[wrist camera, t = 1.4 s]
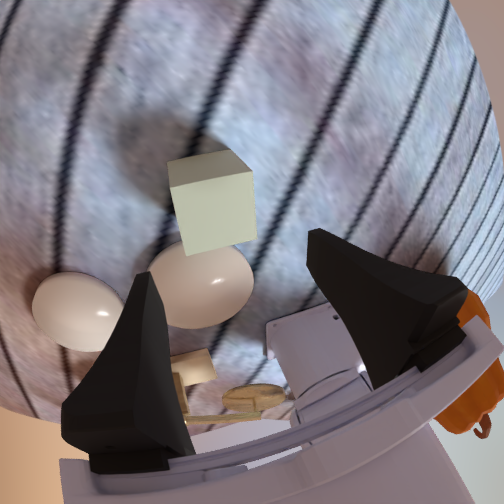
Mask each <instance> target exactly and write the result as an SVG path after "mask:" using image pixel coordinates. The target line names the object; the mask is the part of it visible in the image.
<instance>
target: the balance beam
mask: <svg viewBox="0 0 504 504" xmlns="http://www.w3.org/2000/svg"><path fill="white" fill-rule="evenodd" d="M285 398H286V395H285V391H284V389H283V388H282V387H280V386H277V385H273V384H249V385H243V386H239V387H236V388H233V389H231V390H229V391H227V392H226V393H224V394H223V396H222V403H223V405H224V406H225V407H226V408H228V409H230V410H234V411H241V412H249V413H239V414H226V415H209V416H185V415H184V414H183V417H184V420H185V424H186V426H188V425H189V424H216V423H232V422H243V421H253V420H261V414H260V411H261V410H265V409H269V408H272V407H275V406H277V405H279V404H280V403H282V402H283V401H284V400H285ZM253 411H254V412H253ZM257 411H258V412H257Z"/></svg>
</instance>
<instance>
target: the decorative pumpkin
mask: <svg viewBox="0 0 504 504" xmlns="http://www.w3.org/2000/svg"><path fill="white" fill-rule="evenodd" d="M476 315H478V316H479V317H480V318H481V320H482V321H483V322H484V323H485V324H486V325H487V327H488V328H489V329H490V330H491V326H490V319H489V315H488V313H487V311H486V309H485V307H484V305H483V303H482V302H481V300H480V298H479V296H478V295H477V294H475V293H474V292H472V291H471V290H469V289H468V295H467V298H466V300H465V302H464V304H463V306H462V307H461V309H460V311H459V312H458V314H457V317H458V319H459V320H460V323H459V324H458V325H459V327H460V328H462V327H463V326H464V325H465V324H466V323H467V322H469V321H470V320H471V319H472V318H473V317H475V316H476ZM503 398H504V370H503V368H502V366H501V364H500V361H499V358H497V359H496V360H495V361H494V362H493V363H492V364H491V365H490V367H489V368H488V369H487V370H486V371H485V372H484V373H483V374H482V375H481V376H480V377H479V378H478V379H477V380H476V381H475V382H474V383H473V384H472V385H471V386H470V387H469V388H468V389H467V390H466V391H465V392H464V393H463V394H461V395H460V396H459V397H458V398H457V399H456V400H455V401H454V402H453V403H451V404H450V405H449V406H448V407H447V408H446V409H444V410H443V411H442V412H441V413H439V414H438V415H437V416H436V417H434V418H433V419H435V420H437V421H438V422H439V423H440V424H441V425H442V426H443V427H444V428H445V429H446V430H447V431H449V432H451V433H454V434H461V433H464V432H466V431H468V430H470V429H471V428H472V427H473V425H474V424H475V423H476V422H479V424H480V426H481V428H482V431H483V432H482V433H481V432H479V431H478V430H477V429H476V428H475V429H474V433H475V434H476V436H478V437H479V438H481V439H484V438H487V437H488V435H489V432H490V429H491V421H490V418H489V415H488V413H490V412H492V410H494V409H495V407H496V405H497V403H498V402H499V401H501V400H502V399H503Z"/></svg>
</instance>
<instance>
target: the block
mask: <svg viewBox="0 0 504 504" xmlns="http://www.w3.org/2000/svg"><path fill="white" fill-rule="evenodd" d="M167 168H168V176H169V184H170V190H171V195H172V200H173V204H174V208H175V213H176V217H177V221H178V226H179V230H180V234H181V238H182V242H183V246H184V250H185V254H186V256H189V255H193V254H197V253H201V252H206V251H210V250H214V249H218V248H222V247H226V246H230V245H235V244H239V243H243V242H247V241H251V240H255V239H257V228H256V213H255V198H254V183H253V171H252V170H251V169H250V168H249V167H248V166H247V165H246V164H245V163H244V162H243V161H242V160H241V159H240V158H239V157H238V156H237V155H236V154H235V153H234V152H233V151H232V150H231V149H229V150H223V151H217V152H211V153H206V154H201V155H196V156H191V157H186V158H182V159H177V160H172V161H168V162H167Z"/></svg>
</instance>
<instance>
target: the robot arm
mask: <svg viewBox="0 0 504 504" xmlns="http://www.w3.org/2000/svg"><path fill="white" fill-rule="evenodd" d="M306 266H307V268H308V269H309V271H310V273H311V275H312V277H313V279H314V281H315V283H316V284H317V285H318V287H319V288H320V290H321V291H322V293H323V294H324V295H325V297H326V298H327V299H328V301H329V302H328V303H325V304H322V305H319V306H316V307H313V308H311V309H308V310H305V311H302V312H298V313H295V314H292V315H289V316H286V317H283V318H280V319H276V320H273V321H270V322H268V323H267V324H266V343H267V358H268V360H272V359H275V358H277V361H278V363H279V365H280V367H281V369H282V371H283V374H284V376H285V378H286V380H287V382H288V384H289V387H290V389H291V391H292V393H293V395H294V397H295V399H296V400H295V401H293V403H294V405H295V408H296V409H294V410H292V411H291V415H290V424H291V428H290V429H287V430H284V431H281V432H278V433H275V434H272V435H269V436H266V437H263V438H260V439H257V440H253V441H250V442H246V443H243V444H239V445H236V446H232V447H228V448H224V449H220V450H215V451H211V452H206V453H202V454H196V452H195V450H194V447H193V444H192V441H191V439H190V436H189V433H188V430H187V427H186V424H185V420H184V417H183V414H182V411H181V407H180V403H179V400H178V396H177V392H176V388H175V384H174V379H173V375H172V368H171V359H170V349H169V338H168V326H167V319H166V314H165V309H164V304H163V301H162V299H161V297H160V294H159V292H158V289H157V287H156V284H155V282H154V280H153V277H152V274H151V272H150V271H148V272H144V273H140V274H137V275H136V277H135V279H134V282H133V285H132V287H131V290H130V293H129V295H128V298H127V300H126V303H125V305H124V308H123V310H122V312H121V315H120V317H119V319H118V321H117V323H116V326H115V328H114V330H113V332H112V334H111V336H110V338H109V340H108V341H107V343H106V345H105V347H104V349H103V350H102V352H101V354H100V355H99V357H98V358H97V360H96V361H95V363H94V364H93V366H92V367H91V369H90V370H89V372H88V373H87V374H86V376H85V377H84V378H83V380H82V381H81V382H80V384H79V385H78V386H77V387H76V388H75V389H74V391H73V392H72V393H71V394H70V395H69V396H68V397H67V399H66V400H65V401H64V402H63V403H62V408H61V436H62V438H63V439H64V440H65V441H66V442H67V443H68V444H70V445H72V446H74V447H76V448H78V449H80V450H82V451H84V452H86V453H88V454H89V461H88V460H83V459H62V458H61V459H59V465H60V476H61V485H62V492H63V499H64V504H475V502H474V501H473V499H472V497H471V495H470V493H469V491H468V489H467V487H466V486H465V484H464V482H463V480H462V478H461V477H460V475H459V473H458V471H457V470H456V468H455V466H454V464H453V463H452V461H451V459H450V458H449V456H448V454H447V453H446V451H445V449H444V448H443V446H442V444H441V443H440V441H439V439H438V438H437V436H436V434H435V433H434V431H433V430H432V428H431V427H430V425H429V423H428V422H429V421H431V420H432V419H433V418H434V417H436V416H437V415H438V414H439V413H441V412H442V411H443V410H444V409H446V408H447V407H448V406H449V405H450V404H451V403H453V402H454V401H455V400H456V399H457V398H458V397H459V396H460V395H461V394H463V393H464V392H465V391H466V390H467V389H468V388H469V387H470V386H471V385H472V384H473V383H474V382H475V381H476V380H477V379H478V378H479V377H480V376H481V375H482V374H483V373H484V372H485V371H486V370H487V369H488V368H489V367H490V365H491V364H492V363H493V362H494V361H495V360H496V359H497V358H498V357H499V355H500V354H501V353H502V352H503V351H504V346H503V345H502V343H501V342H500V341H499V340H498V338H497V337H496V336H495V335H494V334H493V333H492V331H491V330H490V329H489V328H488V327H487V325H486V324H485V323H484V322H483V321H482V320H481V318H480V317H479V316H478V315H476V316H475V317H473V318H472V319H471V320H470V321H469V322H467V323H466V324H465V325H464V326H463V327H462V328H460V327H459V325H458V324H459V323H460V320H459V319H458V317H457V314H458V312H459V311H460V309H461V307H462V306H463V304H464V302H465V300H466V298H467V295H468V288H467V287H466V286H465V285H464V284H463V283H462V282H461V281H460V280H459V279H458V278H457V277H453V276H446V275H438V274H433V273H428V272H424V271H420V270H416V269H412V268H409V267H405V266H402V265H399V264H396V263H394V262H391V261H388V260H386V259H383V258H381V257H378V256H376V255H374V254H372V253H369V252H367V251H365V250H363V249H361V248H359V247H357V246H355V245H353V244H351V243H349V242H347V241H345V240H343V239H341V238H339V237H337V236H335V235H334V234H332V233H330V232H327V231H325V230H323V229H321V228H318V229H314V230H310V231H308V246H307V263H306ZM366 370H367V372H366ZM297 446H301V447H302V450H300V451H297V452H295V453H292V454H290V455H287V456H285V457H282V458H280V459H277V460H275V461H272V462H269V463H267V464H264V465H261V466H258V467H255V468H252V469H249V470H248V469H247V466H245V465H241V464H245V463H248V462H252V461H255V460H259V459H262V458H265V457H268V456H272V455H275V454H277V453H281V452H283V451H286V450H289V449H292V448H295V447H297ZM237 465H241V466H237ZM233 466H234V467H233Z"/></svg>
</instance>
